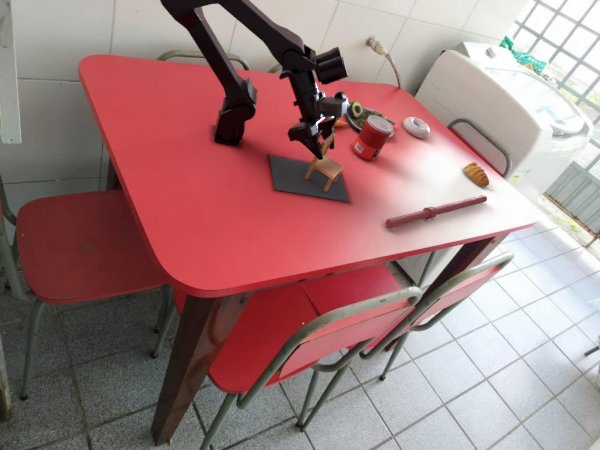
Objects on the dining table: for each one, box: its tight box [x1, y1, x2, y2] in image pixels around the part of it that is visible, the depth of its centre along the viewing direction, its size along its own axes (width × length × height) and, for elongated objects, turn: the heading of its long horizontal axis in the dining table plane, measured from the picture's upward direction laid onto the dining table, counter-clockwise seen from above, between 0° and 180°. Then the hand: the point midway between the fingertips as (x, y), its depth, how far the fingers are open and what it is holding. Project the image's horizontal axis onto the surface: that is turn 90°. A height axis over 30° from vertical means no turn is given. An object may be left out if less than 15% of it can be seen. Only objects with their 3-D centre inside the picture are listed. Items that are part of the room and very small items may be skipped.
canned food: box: [352, 115, 394, 162], centre depth 119 cm, size 8×8×11 cm
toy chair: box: [305, 132, 344, 192], centre depth 102 cm, size 7×7×12 cm
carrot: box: [302, 119, 350, 128], centre depth 125 cm, size 20×4×4 cm, turn 122°
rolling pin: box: [384, 194, 488, 229], centre depth 114 cm, size 45×3×3 cm, turn 124°
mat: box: [268, 154, 351, 203], centre depth 104 cm, size 20×13×1 cm, turn 100°
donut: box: [403, 116, 431, 139], centre depth 145 cm, size 10×4×10 cm
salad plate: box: [344, 100, 396, 138], centre depth 136 cm, size 19×18×5 cm
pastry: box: [463, 161, 490, 188], centre depth 137 cm, size 9×7×4 cm
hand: (327, 154), depth 101 cm, fingers closed on toy chair, 6 cm apart
